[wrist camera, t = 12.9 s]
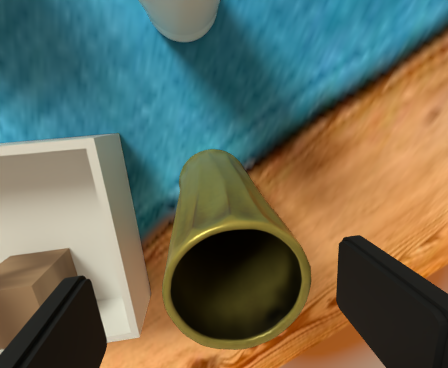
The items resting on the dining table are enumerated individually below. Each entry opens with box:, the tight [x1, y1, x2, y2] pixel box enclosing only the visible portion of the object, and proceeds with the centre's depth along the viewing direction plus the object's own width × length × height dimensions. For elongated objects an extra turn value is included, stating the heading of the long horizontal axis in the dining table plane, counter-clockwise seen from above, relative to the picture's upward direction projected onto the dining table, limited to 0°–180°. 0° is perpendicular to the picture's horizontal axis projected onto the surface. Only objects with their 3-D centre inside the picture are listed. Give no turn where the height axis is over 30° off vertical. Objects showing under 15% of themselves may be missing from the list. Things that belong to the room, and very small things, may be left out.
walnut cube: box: [0, 248, 78, 350], centre depth 19 cm, size 5×5×5 cm
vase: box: [162, 149, 311, 350], centre depth 15 cm, size 6×6×14 cm
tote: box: [0, 133, 151, 354], centre depth 19 cm, size 17×16×5 cm
